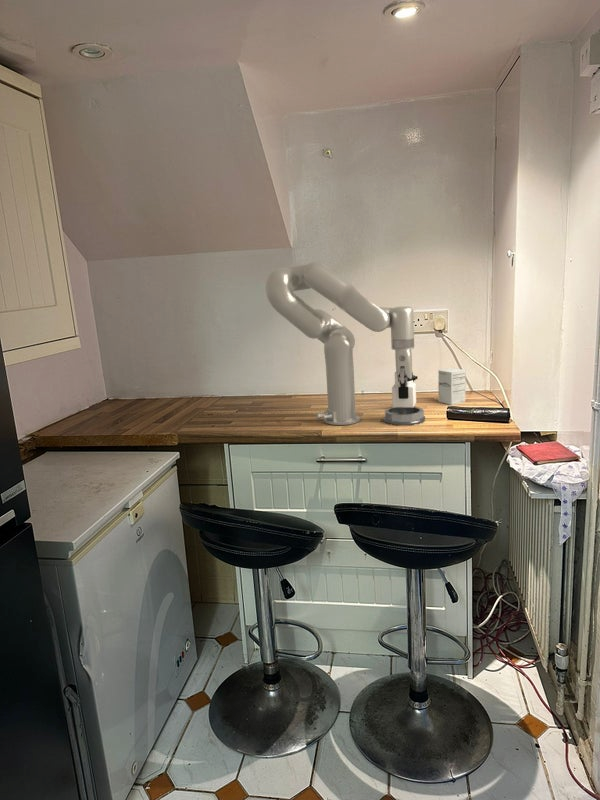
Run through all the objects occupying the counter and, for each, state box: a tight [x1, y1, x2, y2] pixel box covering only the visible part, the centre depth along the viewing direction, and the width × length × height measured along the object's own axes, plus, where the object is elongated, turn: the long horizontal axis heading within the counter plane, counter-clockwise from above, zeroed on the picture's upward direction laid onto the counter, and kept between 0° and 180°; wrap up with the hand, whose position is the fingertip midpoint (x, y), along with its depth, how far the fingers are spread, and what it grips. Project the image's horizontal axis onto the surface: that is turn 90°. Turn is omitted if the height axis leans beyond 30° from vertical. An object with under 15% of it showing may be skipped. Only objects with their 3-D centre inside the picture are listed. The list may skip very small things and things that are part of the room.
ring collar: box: [383, 406, 426, 426], centre depth 197 cm, size 14×14×4 cm
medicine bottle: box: [391, 371, 417, 408], centre depth 195 cm, size 7×7×12 cm
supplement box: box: [437, 367, 467, 406], centre depth 218 cm, size 7×7×13 cm
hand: (404, 395), depth 196 cm, fingers closed on medicine bottle, 7 cm apart
